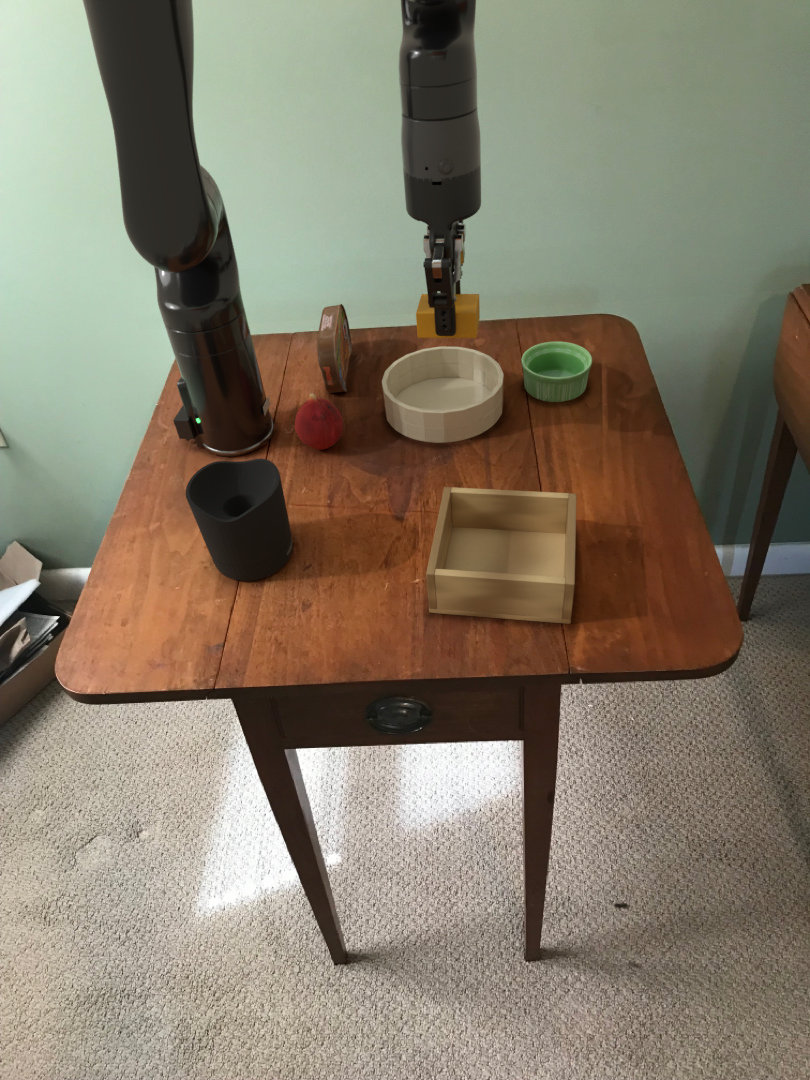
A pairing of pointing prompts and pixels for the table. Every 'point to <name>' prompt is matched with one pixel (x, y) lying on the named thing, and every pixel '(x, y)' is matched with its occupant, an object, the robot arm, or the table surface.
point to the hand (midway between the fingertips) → (448, 322)
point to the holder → (504, 555)
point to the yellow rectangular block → (464, 317)
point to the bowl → (443, 394)
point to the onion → (318, 423)
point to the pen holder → (242, 517)
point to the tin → (334, 347)
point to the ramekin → (556, 371)
